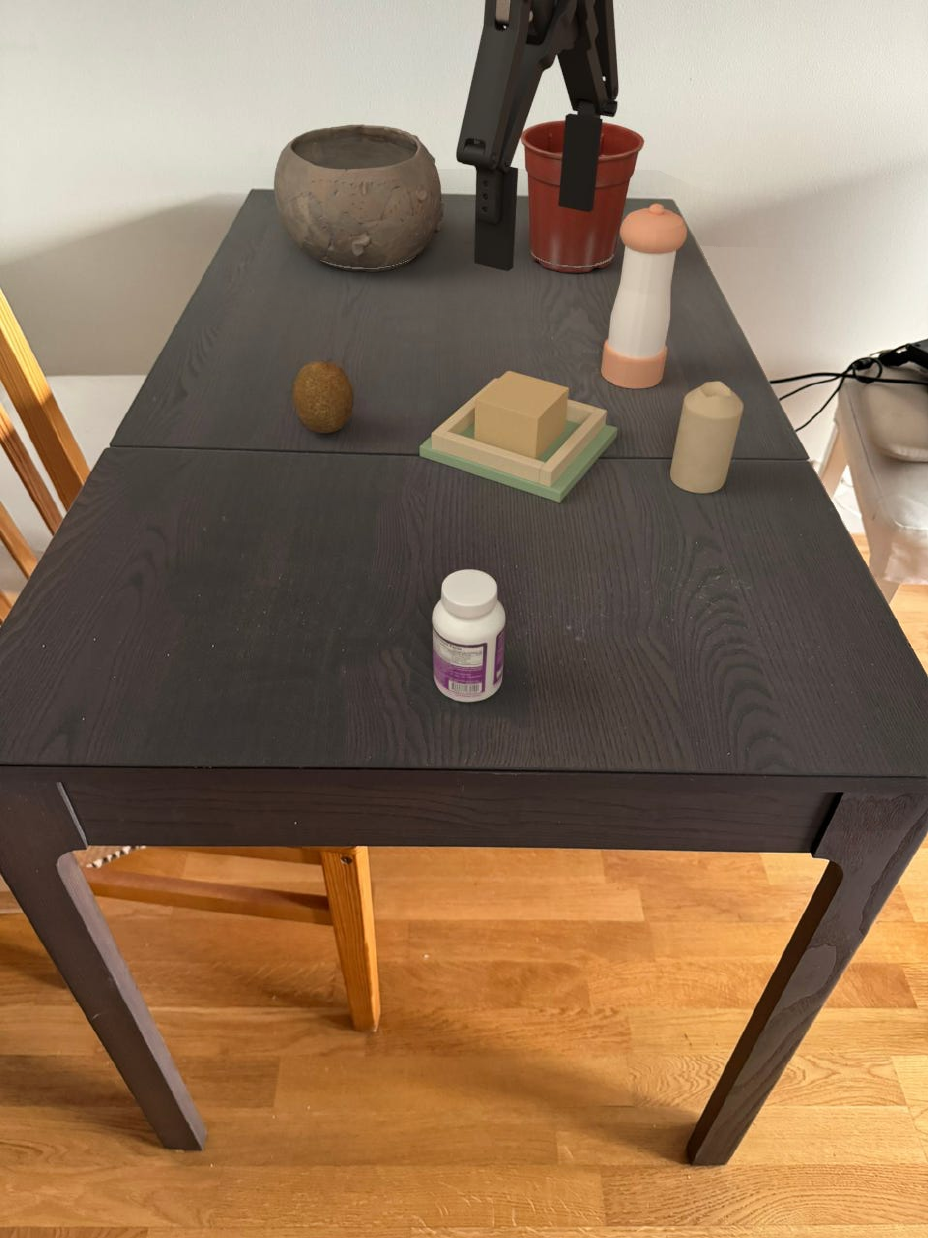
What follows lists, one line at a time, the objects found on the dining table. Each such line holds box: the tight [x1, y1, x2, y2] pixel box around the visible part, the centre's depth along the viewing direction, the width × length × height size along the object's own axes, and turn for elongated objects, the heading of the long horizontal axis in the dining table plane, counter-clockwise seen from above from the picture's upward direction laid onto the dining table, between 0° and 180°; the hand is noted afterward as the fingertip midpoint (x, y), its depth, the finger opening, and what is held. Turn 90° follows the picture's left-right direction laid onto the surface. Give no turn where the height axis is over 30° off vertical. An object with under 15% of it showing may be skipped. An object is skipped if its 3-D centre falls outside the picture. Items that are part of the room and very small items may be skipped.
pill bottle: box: [431, 568, 507, 703], centre depth 69 cm, size 5×5×10 cm
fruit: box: [292, 360, 355, 435], centre depth 96 cm, size 6×6×8 cm
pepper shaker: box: [600, 203, 688, 390], centre depth 103 cm, size 7×7×19 cm
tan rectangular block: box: [474, 370, 570, 460], centre depth 95 cm, size 7×7×5 cm
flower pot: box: [520, 119, 645, 274], centre depth 129 cm, size 16×16×16 cm
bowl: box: [273, 124, 446, 273], centre depth 129 cm, size 23×23×15 cm
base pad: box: [419, 377, 619, 503], centre depth 96 cm, size 16×14×3 cm
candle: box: [669, 381, 744, 494], centre depth 90 cm, size 6×6×10 cm
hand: (537, 235), depth 69 cm, fingers open, 13 cm apart
